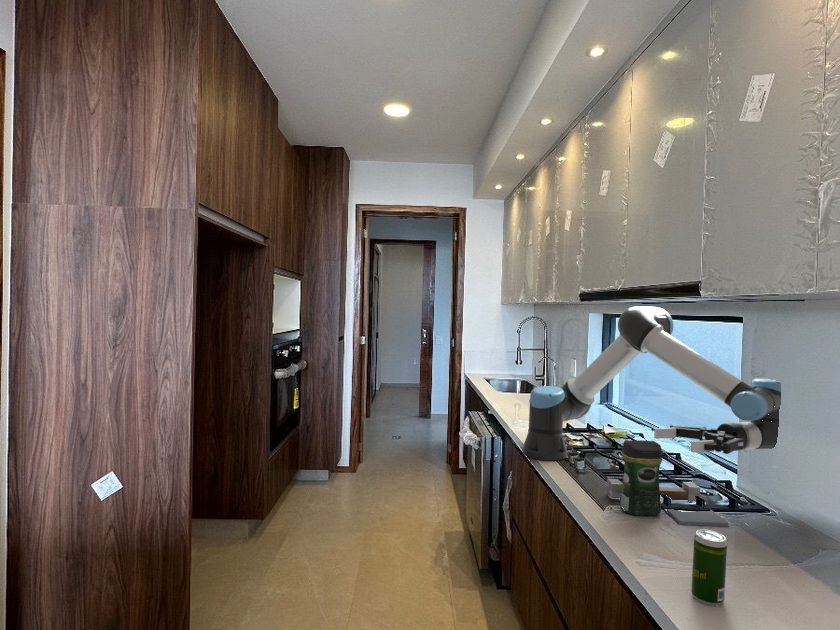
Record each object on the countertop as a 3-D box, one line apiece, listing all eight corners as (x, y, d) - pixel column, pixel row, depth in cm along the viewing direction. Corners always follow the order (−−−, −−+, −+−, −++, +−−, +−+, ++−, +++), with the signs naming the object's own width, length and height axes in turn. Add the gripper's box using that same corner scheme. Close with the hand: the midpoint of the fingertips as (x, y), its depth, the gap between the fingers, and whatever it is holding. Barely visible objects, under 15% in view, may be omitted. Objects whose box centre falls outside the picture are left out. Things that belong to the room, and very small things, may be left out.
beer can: (728, 599, 99) (731, 536, 99) (717, 610, 96) (721, 544, 95) (697, 587, 103) (700, 526, 103) (686, 597, 99) (689, 534, 99)
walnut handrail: (606, 494, 151) (607, 478, 151) (692, 498, 151) (693, 482, 151) (611, 499, 147) (612, 483, 147) (699, 503, 147) (700, 487, 147)
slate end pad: (657, 503, 146) (657, 501, 145) (702, 505, 145) (702, 502, 145) (679, 524, 133) (679, 521, 132) (728, 526, 132) (728, 523, 132)
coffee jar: (651, 505, 144) (654, 437, 143) (664, 517, 136) (668, 445, 136) (615, 504, 144) (618, 436, 144) (626, 516, 136) (630, 444, 136)
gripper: (777, 463, 136) (708, 468, 130) (702, 438, 160) (641, 441, 154) (779, 434, 135) (710, 437, 130) (703, 413, 160) (642, 415, 154)
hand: (672, 439), depth 142 cm, fingers open, 13 cm apart
